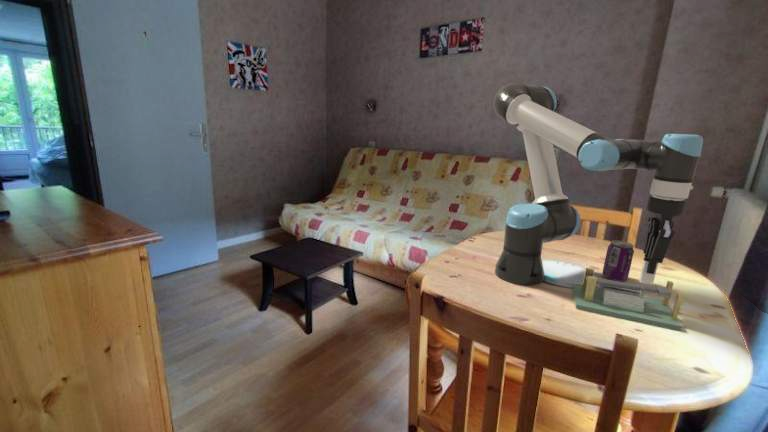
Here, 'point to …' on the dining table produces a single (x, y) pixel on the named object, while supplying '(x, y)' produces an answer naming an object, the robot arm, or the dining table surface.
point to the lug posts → (590, 287)
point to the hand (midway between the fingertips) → (645, 282)
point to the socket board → (651, 314)
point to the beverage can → (618, 260)
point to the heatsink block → (622, 298)
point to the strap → (634, 286)
